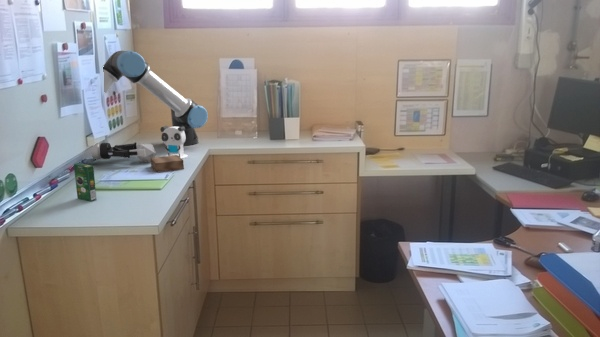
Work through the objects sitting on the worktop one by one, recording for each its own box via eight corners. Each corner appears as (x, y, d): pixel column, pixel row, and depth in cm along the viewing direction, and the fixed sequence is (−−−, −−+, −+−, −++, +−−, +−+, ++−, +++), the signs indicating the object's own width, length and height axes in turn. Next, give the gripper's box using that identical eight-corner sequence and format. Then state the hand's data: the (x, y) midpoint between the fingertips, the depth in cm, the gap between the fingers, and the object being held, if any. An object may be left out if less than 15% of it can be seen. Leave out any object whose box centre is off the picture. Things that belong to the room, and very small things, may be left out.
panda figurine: (158, 158, 260) (155, 127, 256) (171, 153, 270) (169, 124, 266) (179, 160, 256) (177, 129, 252) (192, 155, 266) (190, 125, 262)
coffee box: (97, 199, 196) (93, 164, 193) (91, 202, 194) (86, 166, 191) (84, 196, 201) (79, 162, 197) (77, 198, 198) (72, 163, 195)
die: (146, 166, 248) (157, 147, 250) (129, 156, 249) (141, 137, 250) (151, 168, 257) (162, 150, 258) (135, 158, 257) (146, 140, 258)
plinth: (177, 163, 250) (177, 154, 249) (183, 168, 239) (183, 160, 238) (151, 166, 245) (150, 157, 244) (156, 172, 234) (155, 163, 233)
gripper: (108, 153, 264) (153, 151, 266) (94, 165, 240) (143, 163, 242) (107, 138, 262) (151, 136, 264) (92, 148, 238) (141, 147, 240)
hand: (147, 149), depth 253 cm, fingers open, 13 cm apart
